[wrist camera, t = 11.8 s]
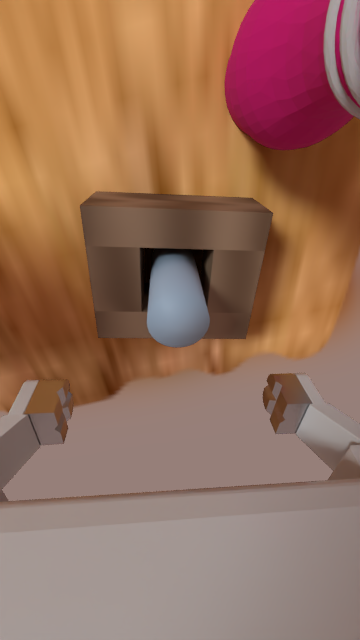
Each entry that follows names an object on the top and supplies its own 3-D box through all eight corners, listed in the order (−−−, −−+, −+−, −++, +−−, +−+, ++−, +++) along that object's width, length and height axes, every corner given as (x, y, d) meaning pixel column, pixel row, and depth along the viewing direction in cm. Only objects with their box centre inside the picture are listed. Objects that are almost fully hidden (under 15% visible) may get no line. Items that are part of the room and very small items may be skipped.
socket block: (108, 306, 27) (98, 337, 23) (96, 191, 21) (79, 205, 17) (232, 307, 28) (245, 338, 23) (252, 198, 22) (273, 213, 18)
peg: (151, 237, 23) (146, 294, 15) (195, 238, 24) (213, 295, 15) (152, 276, 25) (147, 347, 17) (192, 277, 26) (206, 347, 17)
